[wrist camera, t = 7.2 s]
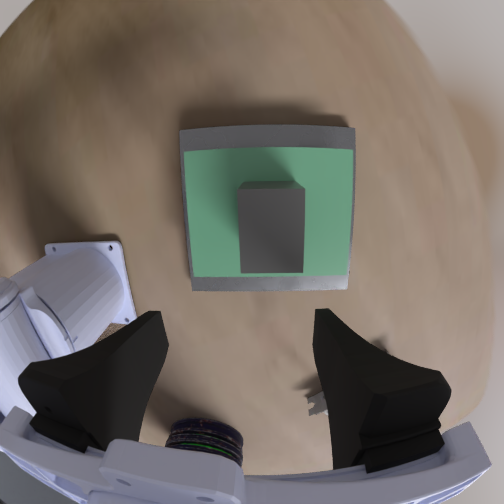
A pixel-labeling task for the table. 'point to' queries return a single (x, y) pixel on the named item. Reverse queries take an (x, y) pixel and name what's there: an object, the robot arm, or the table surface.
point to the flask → (25, 486)
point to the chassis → (266, 138)
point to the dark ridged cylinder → (206, 438)
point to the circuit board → (268, 164)
